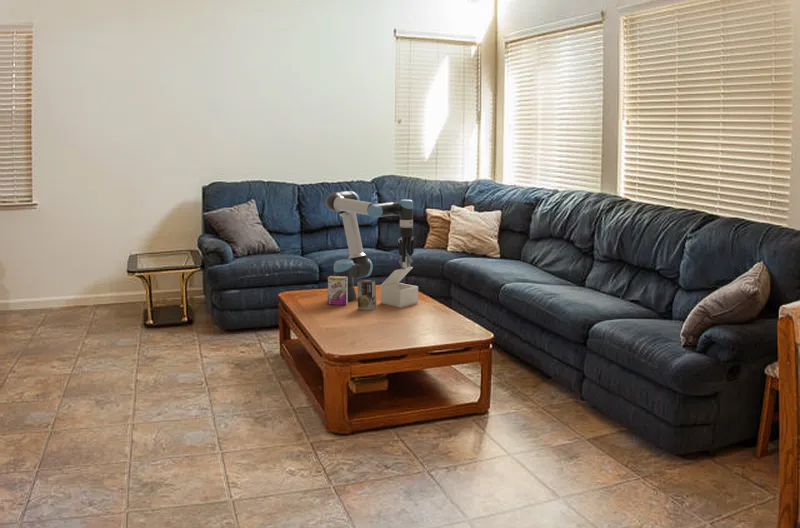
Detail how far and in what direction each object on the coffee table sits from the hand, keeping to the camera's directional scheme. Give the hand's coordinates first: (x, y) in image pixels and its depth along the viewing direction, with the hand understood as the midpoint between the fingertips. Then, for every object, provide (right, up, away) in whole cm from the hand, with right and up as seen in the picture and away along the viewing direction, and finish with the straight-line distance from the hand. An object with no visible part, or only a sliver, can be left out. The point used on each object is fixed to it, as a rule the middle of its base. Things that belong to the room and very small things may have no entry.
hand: (406, 267), depth 449 cm
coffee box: (-23, -24, -5) cm, 33 cm away
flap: (-3, -4, +4) cm, 6 cm away
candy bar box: (-40, -22, +5) cm, 46 cm away
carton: (-4, -21, +8) cm, 23 cm away
